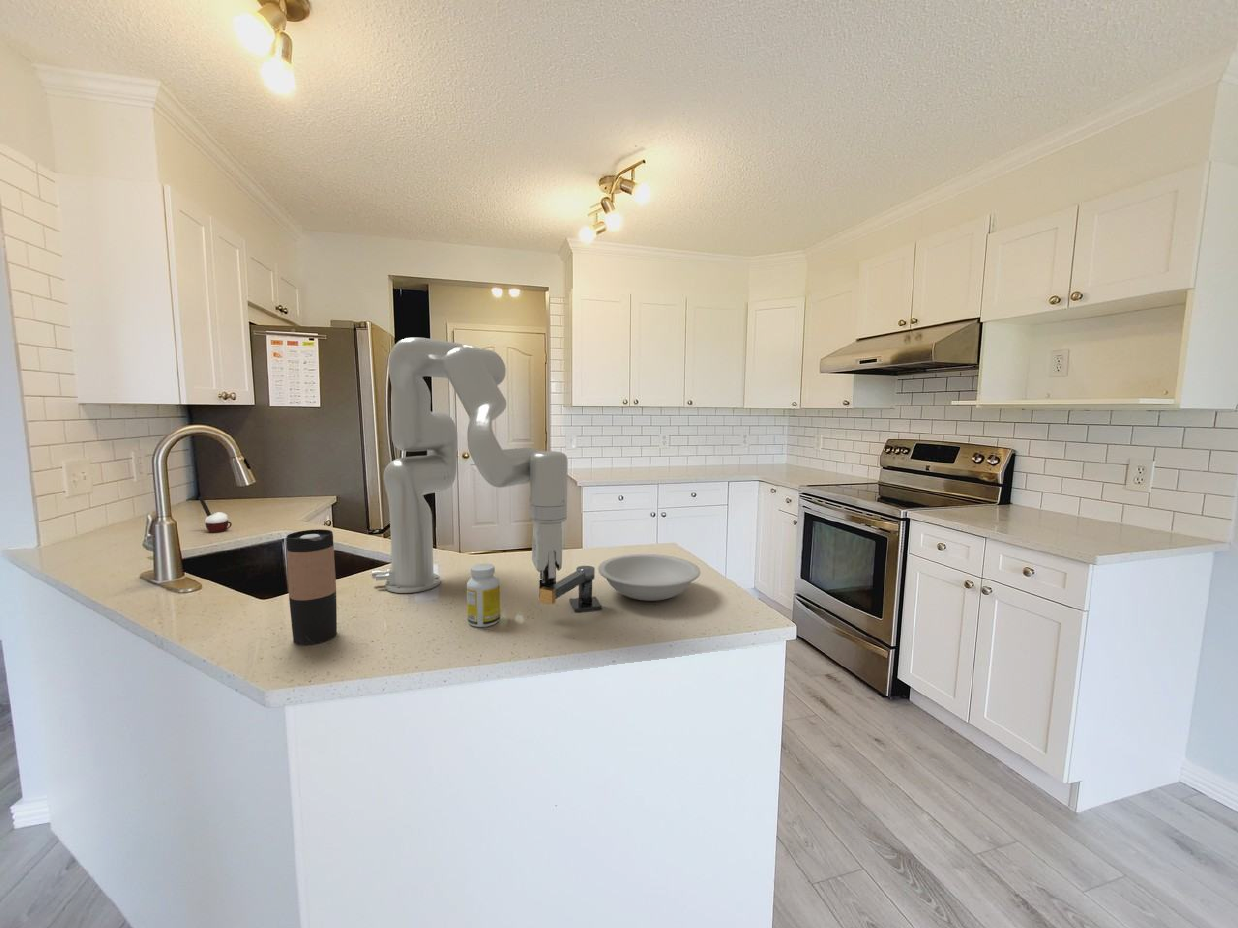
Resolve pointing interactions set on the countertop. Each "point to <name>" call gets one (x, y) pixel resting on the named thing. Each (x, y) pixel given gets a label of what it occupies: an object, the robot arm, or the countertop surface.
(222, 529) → the cocoa
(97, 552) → the countertop surface
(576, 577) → the rail
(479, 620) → the pill bottle
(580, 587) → the dark grey faucet base
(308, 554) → the travel mug
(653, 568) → the round sink basin
